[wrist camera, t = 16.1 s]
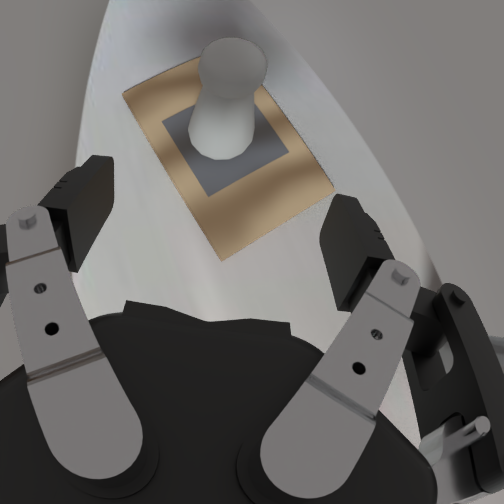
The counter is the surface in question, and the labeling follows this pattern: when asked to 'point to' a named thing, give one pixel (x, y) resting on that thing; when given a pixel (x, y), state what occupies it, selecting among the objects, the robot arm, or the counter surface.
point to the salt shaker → (227, 97)
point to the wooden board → (228, 162)
